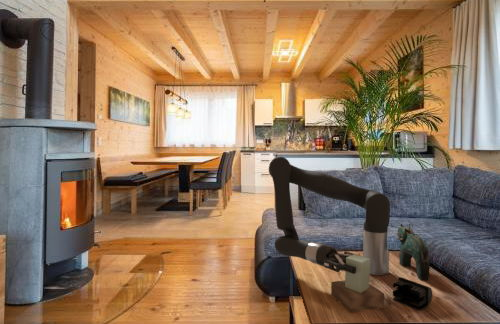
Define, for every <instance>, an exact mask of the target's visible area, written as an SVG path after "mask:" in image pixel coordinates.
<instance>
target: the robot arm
mask: <svg viewBox="0 0 500 324" xmlns="http://www.w3.org/2000/svg"><path fill="white" fill-rule="evenodd" d="M268 173H269V175H270V177H271V178H272V181H273V186H274V196H275V197H274V198H275V200H274V207H275V210H274V211H275V221H276V228H277V229H278V230H281V231H282V232H283V234H284V235H280V236H279V237H277V238H276V239H275V241H274V249H275V250H276V252H278V253H279V254H280V255H283V256H287V257H294V258H300V259H303V260H306V261H308V262H310V263H311V264H314V265H318V266H319V267H323V268H325V269H327V270H330V271H333V272H336V273H340V271H341V272H346V271H347V272H350V273H353V274H355V273H356V267H355V266H352V265H348V264H346V257H349V256H351V255H353V254H356V255H359V254H357V253H355V252H354V253H353V252H349V251H343V252H338V251H337V249H336V248H335V247H333V246H330V245H326V244H323V243H319V242H312V241H309V240H305V239H300V238H299V235H298V232H297V229H296V227H295V223H294V212H293V207H292V205H293V204H292V200H291V188H290V184H292V185H296V186H298V187H300V188H304V189H306V190H307V191H310V192H312V193H315V194H317V195H320V196H322V197H326V198H328V199H332V200H338V201H342V202H343V201H344V202H348V203H351V204H354V205H356V206H358V207H360V208H362V209H363V210H365V221H364V222H363V233H362V235H363V236H362V237H363V238H362V240H363V242H362V243H363V245H362V247H363V248H362V256H363V257H367V258H370V273H369V275H373V276H385V275H387V274H390V250H389V249H388V228H389V226H390V217H391V216H390V215H391V203H390V199H389V198H388V196H387V195H386V194H384V193H382V192H380V191H377V190H372V189H366V188H365V187H364V188H363V187H359V186H356V185H353V184H351V183H349V182H347V181H345V180H343V179H341V178H339V177H337V176H333V175H331V174H328V173H325V172H320V171H314V170H308V169H307V170H306V169H302V168H300V167H297V166H295V165H293V164H291V162H290V160H289V159H287V158H285V157H283V156H276V157H274V158H273V159H271V160H270V163H269V165H268Z"/></svg>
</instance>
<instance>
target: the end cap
mask: <svg viewBox="0 0 500 324" xmlns="http://www.w3.org/2000/svg"><path fill="white" fill-rule="evenodd" d="M392 288H396V289H394V290H392V296H393V301H395V302H398V303H400V304H402V305H404V306H407V307H409V308H412V309H415V310H416V311H420V312H421V311H422V310H425V309H427V307H429V305H430V304H431V302H432V300H433V289H432V288H431V287H430V286H427V285H425V284H421V283H418V282H416V281H413V280H410V279H407V278H404V277H402V276H398V278H397V281H395V282H393V284H392Z"/></svg>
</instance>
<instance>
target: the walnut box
mask: <svg viewBox="0 0 500 324" xmlns="http://www.w3.org/2000/svg"><path fill="white" fill-rule="evenodd" d="M330 286H331V290H330V296H332V297H333V298H334V299H335V300H336V301H337V302H339V303H340V304H341V306H342V307H344V308H345V309H346V310H347V311H348V312H349V313H356V312H364V311H370V310H375V309H376V310H378V309H384V308H385V293H384V292H383V291H382V290H380V289H378V288H377V287H375V286H373V284H371V283H369V288H368V289H366V290H365V291H363V292H362V293H359V292H357V291H354V290H351V289H349V288H346V287H345V280H337V281H331V284H330Z"/></svg>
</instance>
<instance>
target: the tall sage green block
mask: <svg viewBox="0 0 500 324" xmlns="http://www.w3.org/2000/svg"><path fill="white" fill-rule="evenodd" d="M356 254H357V253H354V254H353V255H351V256H349V257H346V264H348V265H352V266H355V267H356V273H355V274H353V273H350V272H347V271H344V272H345V274H344V276H345V277H344V279H345V287H346V288H349V289H351V290H354V291H357V292H359V293H362V292H363V291H365V290H366V289H368V288H369V284H370V274H369V273H370V258H367V257H363V255H360V254H358V255H356Z"/></svg>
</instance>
